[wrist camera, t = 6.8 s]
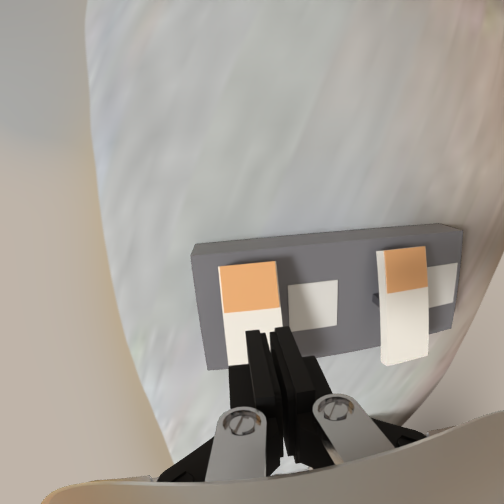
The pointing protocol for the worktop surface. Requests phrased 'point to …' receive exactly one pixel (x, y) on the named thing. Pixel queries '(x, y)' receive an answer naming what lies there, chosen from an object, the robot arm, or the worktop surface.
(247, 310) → the rocker
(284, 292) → the switch panel
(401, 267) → the rocker
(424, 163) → the worktop surface
